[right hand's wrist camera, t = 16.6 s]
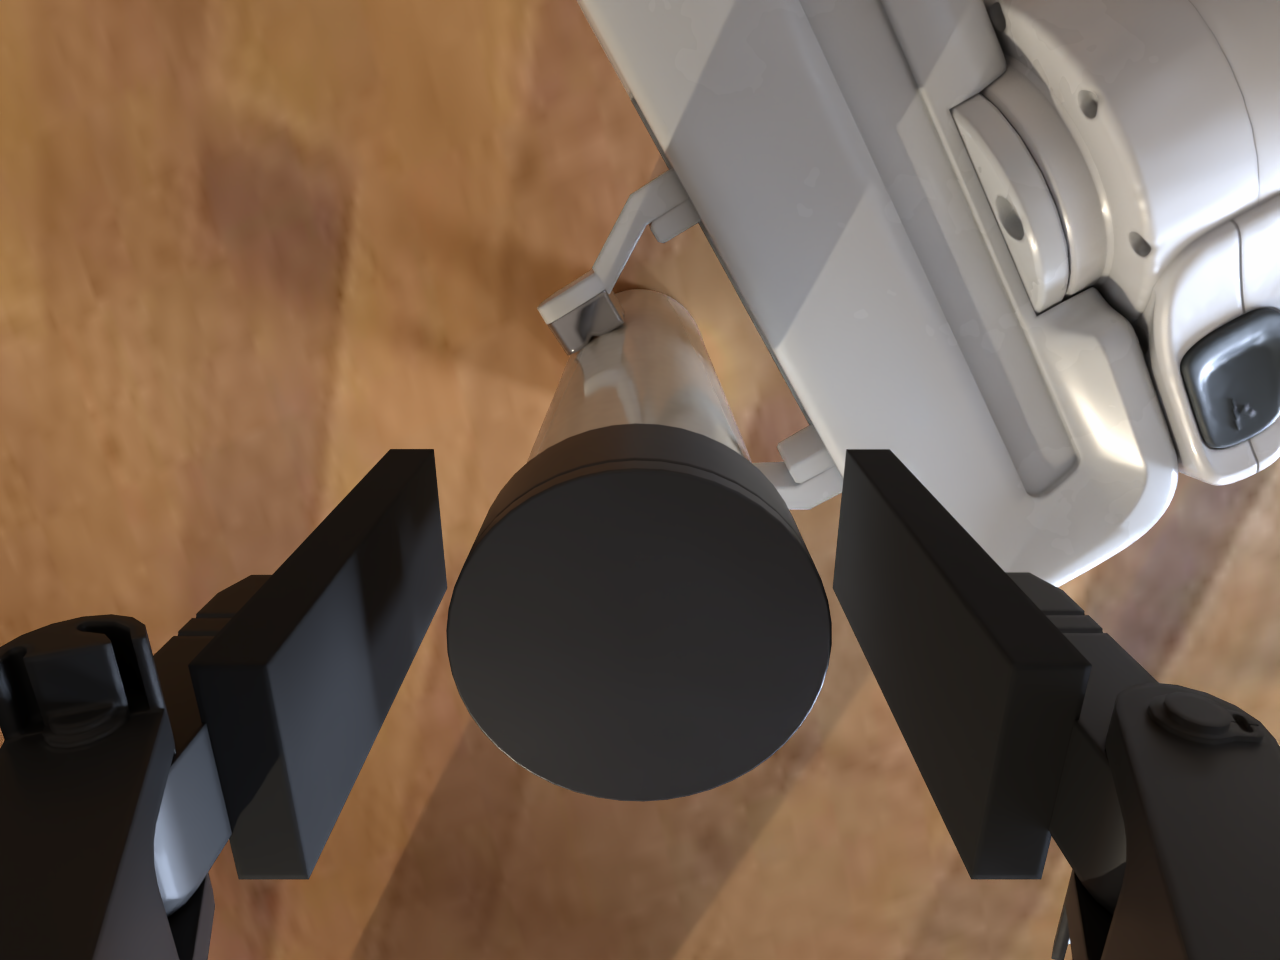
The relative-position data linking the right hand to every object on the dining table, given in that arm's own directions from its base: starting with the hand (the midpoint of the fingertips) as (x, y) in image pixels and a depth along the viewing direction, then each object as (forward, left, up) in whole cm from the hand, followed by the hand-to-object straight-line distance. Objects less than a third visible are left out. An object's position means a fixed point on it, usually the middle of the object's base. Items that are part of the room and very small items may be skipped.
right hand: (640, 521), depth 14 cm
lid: (0, 0, +4) cm, 4 cm away
